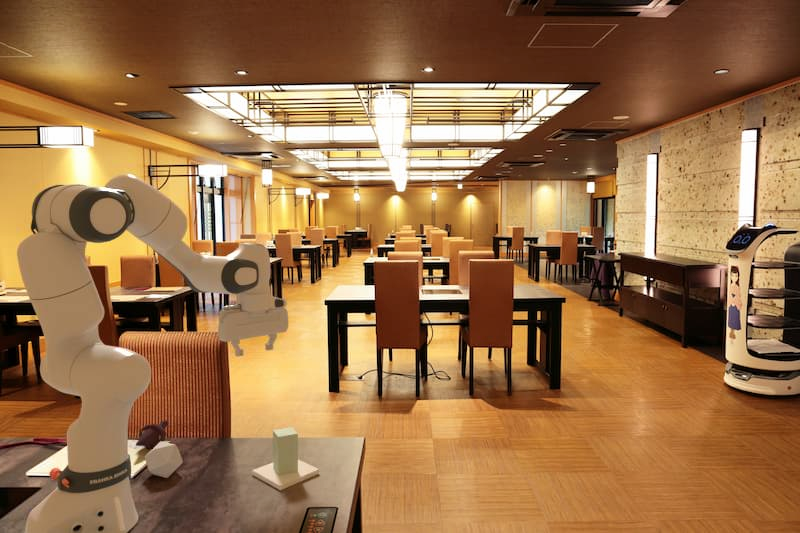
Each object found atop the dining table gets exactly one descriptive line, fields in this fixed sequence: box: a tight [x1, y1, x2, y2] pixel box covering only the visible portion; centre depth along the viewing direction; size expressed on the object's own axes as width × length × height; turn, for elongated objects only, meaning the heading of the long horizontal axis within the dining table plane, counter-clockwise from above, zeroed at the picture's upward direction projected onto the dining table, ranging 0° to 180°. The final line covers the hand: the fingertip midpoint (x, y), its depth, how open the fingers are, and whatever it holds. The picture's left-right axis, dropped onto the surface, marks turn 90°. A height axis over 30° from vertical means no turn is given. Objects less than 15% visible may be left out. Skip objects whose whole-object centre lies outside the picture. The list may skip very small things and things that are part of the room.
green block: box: [272, 426, 299, 476], centre depth 139 cm, size 5×5×10 cm
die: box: [144, 441, 184, 479], centre depth 139 cm, size 8×9×10 cm
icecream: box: [135, 419, 170, 449], centre depth 155 cm, size 7×8×15 cm
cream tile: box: [251, 459, 320, 491], centre depth 140 cm, size 12×12×1 cm
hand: (254, 352), depth 148 cm, fingers open, 8 cm apart
